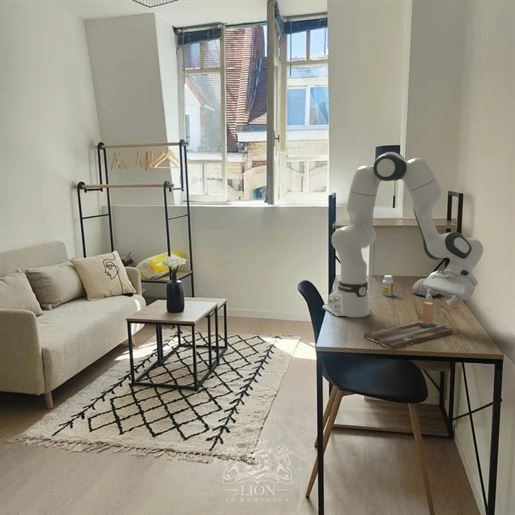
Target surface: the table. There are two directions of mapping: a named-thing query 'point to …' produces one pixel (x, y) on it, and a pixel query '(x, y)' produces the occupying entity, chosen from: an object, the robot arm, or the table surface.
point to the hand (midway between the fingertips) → (437, 302)
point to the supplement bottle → (387, 285)
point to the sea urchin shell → (421, 288)
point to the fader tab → (428, 315)
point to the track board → (407, 334)
